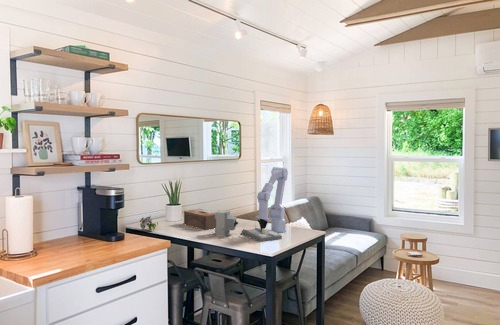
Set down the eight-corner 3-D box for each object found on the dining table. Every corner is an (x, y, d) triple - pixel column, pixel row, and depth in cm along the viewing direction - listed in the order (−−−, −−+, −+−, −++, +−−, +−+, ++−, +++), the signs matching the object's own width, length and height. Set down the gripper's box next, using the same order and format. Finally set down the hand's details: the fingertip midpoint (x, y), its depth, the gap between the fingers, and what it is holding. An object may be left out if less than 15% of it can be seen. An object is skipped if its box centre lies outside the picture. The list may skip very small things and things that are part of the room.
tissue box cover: (221, 227, 276) (222, 213, 275) (206, 230, 266) (206, 216, 265) (199, 221, 294) (199, 208, 293) (183, 224, 284) (184, 211, 283)
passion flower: (142, 238, 263) (136, 222, 266) (157, 233, 269) (150, 218, 273) (146, 232, 254) (139, 216, 258) (161, 226, 261) (154, 211, 264)
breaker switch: (265, 233, 249) (266, 228, 249) (268, 234, 246) (269, 229, 246) (262, 234, 248) (262, 228, 248) (264, 235, 245) (265, 229, 245)
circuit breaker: (235, 236, 250) (236, 213, 249) (214, 234, 253) (215, 212, 252) (238, 233, 257) (238, 211, 256) (218, 232, 260) (218, 210, 259)
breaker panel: (261, 230, 266) (262, 226, 266) (281, 238, 245) (281, 233, 245) (241, 233, 258) (241, 228, 258) (260, 241, 237) (260, 236, 237)
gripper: (252, 208, 253) (252, 229, 254) (264, 212, 241) (263, 234, 241) (261, 208, 257) (261, 228, 258) (273, 211, 244) (273, 232, 245)
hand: (263, 231), depth 250 cm, fingers closed
